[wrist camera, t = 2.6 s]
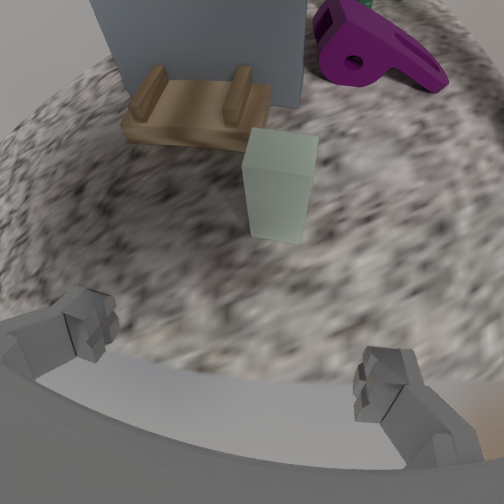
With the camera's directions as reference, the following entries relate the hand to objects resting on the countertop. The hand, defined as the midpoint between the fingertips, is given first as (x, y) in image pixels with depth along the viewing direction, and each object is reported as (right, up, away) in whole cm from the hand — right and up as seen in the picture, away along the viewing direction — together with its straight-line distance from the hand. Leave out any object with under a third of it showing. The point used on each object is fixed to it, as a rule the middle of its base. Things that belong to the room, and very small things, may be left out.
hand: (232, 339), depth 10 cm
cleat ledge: (-5, +16, +22) cm, 28 cm away
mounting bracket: (+18, +26, +25) cm, 40 cm away
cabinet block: (+3, +5, +17) cm, 18 cm away
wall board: (-4, +22, +24) cm, 33 cm away
